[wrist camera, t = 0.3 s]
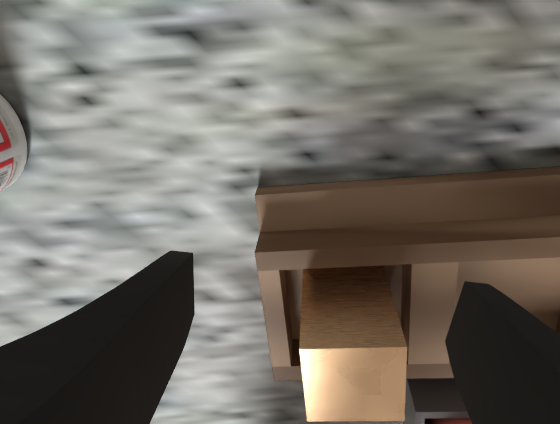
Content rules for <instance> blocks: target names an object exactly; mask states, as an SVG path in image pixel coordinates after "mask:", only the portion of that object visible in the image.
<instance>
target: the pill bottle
mask: <svg viewBox="0 0 560 424" xmlns="http://www.w3.org/2000/svg"><path fill="white" fill-rule="evenodd" d="M26 160H27V142H26V136H25V133H24V130H23V127H22V125H21V122H20V120H19V118H18V116H17V115H16V113H15V111H14V110H13V108H12V107H11V105H10V104H9V103H8V102H7V101H6V100H5V99H4V98H3V97H2V96H1V95H0V191H2V190H4V189H5V188H7V187H9V186H10V185H11V184H13V183H14V182H15V181H16V180H17V179H18V178H19V176H20V175H21V173H22V171H23V170H24V167H25V164H26Z"/></svg>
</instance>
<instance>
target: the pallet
mask: <svg viewBox="0 0 560 424" xmlns="http://www.w3.org/2000/svg"><path fill="white" fill-rule="evenodd" d="M255 199H256V206H257V213H258V220H259V227H260V235H259V239H258V242H257V246H256V250H255V257H256V264H257V270H258V277H259V284H260V290H261V297H262V304H263V310H264V317H265V323H266V330H267V337H268V343H269V350H270V356H271V363H272V370H273V376H274V380H303V379H302V370H301V361H300V352H299V344H300V323H301V301H302V279H303V269H316V268H338V267H360V266H382V265H384V268H385V272H386V275H387V279H388V282H389V286H390V289H391V292H392V296H393V299H394V303H395V306H396V310H397V313H398V317H399V320H400V324H401V327H402V331H403V334H404V338H405V341H406V345H407V366H406V379H416V378H454V376H453V372H452V369H451V365H450V361H449V357H448V352H447V348H446V344H445V340H446V336H447V333H448V330H449V327H450V324H451V321H452V318H453V315H454V312H455V309H456V306H457V303H458V300H459V297H460V294H461V290H462V287H463V284H464V281H467V282H477V283H487V284H490V285H491V286H493V287H495V288H496V289H498V290H499V291H501V292H502V293H503V294H505V295H506V296H508V297H509V298H510V299H512V300H513V301H515V302H516V303H517V304H519V305H520V306H521V307H523V308H524V309H525V310H527V311H528V312H529V313H531V314H532V315H534V316H535V317H536V318H538V319H539V320H540V321H542V322H543V323H544V324H546V325H547V326H548V327H550V328H551V329H553V330H554V331H555V332H557V333H558V334H559V335H560V167H546V168H532V169H518V170H504V171H489V172H475V173H461V174H446V175H432V176H418V177H403V178H389V179H375V180H361V181H346V182H332V183H318V184H303V185H289V186H275V187H260V188H257V191H256V194H255Z"/></svg>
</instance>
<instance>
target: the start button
mask: <svg viewBox="0 0 560 424" xmlns="http://www.w3.org/2000/svg"><path fill="white" fill-rule="evenodd" d="M424 424H472V422H471V420H470V418H425V423H424Z"/></svg>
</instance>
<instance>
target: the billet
mask: <svg viewBox="0 0 560 424" xmlns="http://www.w3.org/2000/svg"><path fill="white" fill-rule="evenodd" d="M299 352H300V361H301V370H302V379H303V388H304V397H305V406H306V415H307V421H405V393H406V366H407V345H406V341H405V338H404V334H403V331H402V327H401V324H400V320H399V317H398V313H397V310H396V306H395V303H394V299H393V296H392V292H391V289H390V286H389V282H388V279H387V275H386V272H385V268H384V265H382V266H360V267H338V268H316V269H303V279H302V301H301V323H300V344H299Z"/></svg>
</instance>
